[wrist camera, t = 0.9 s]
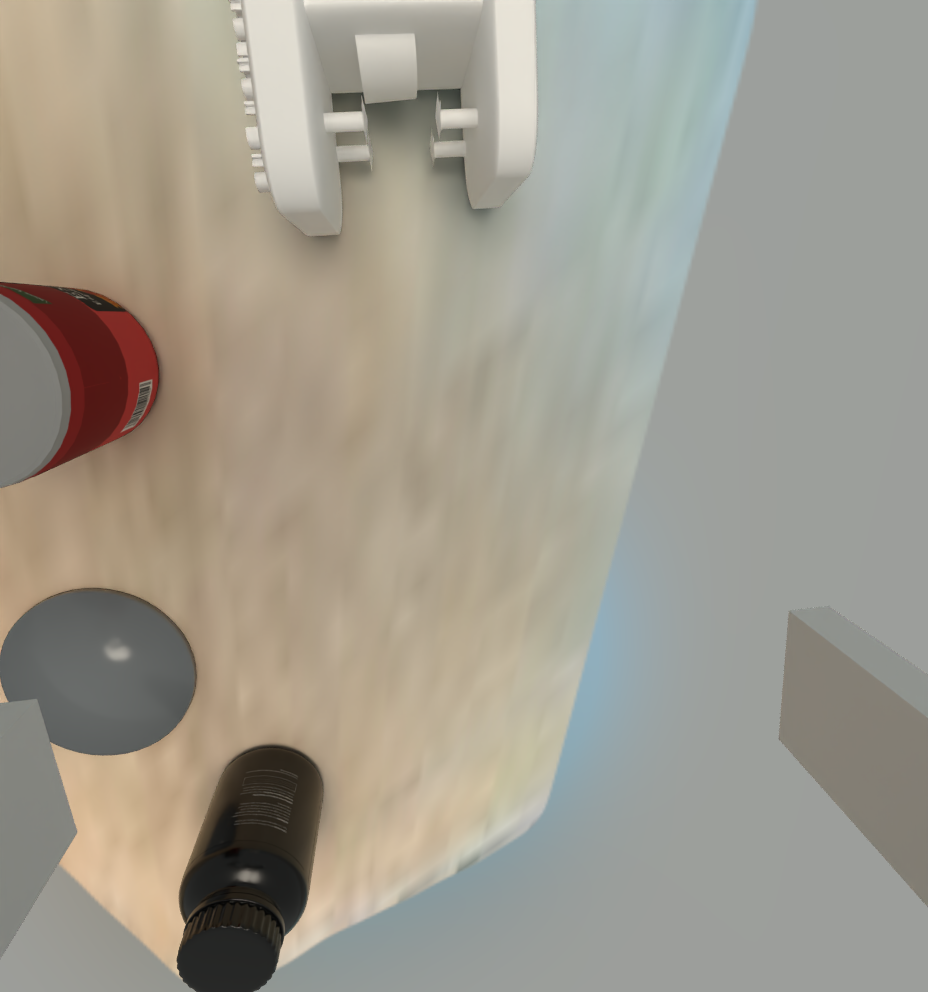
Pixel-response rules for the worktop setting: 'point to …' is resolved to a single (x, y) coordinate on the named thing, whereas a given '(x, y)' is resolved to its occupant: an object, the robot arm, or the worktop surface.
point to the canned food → (67, 376)
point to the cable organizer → (384, 91)
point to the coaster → (100, 670)
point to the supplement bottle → (249, 871)
